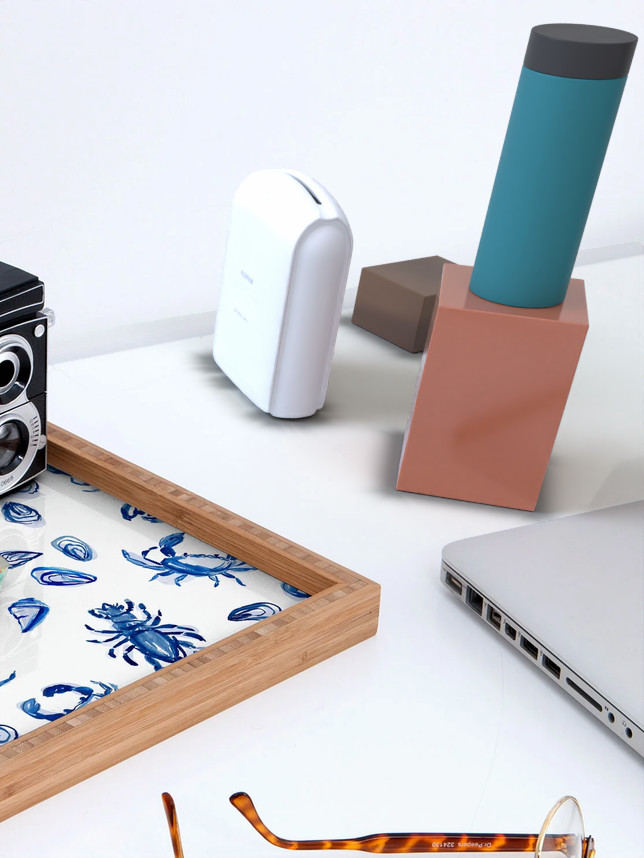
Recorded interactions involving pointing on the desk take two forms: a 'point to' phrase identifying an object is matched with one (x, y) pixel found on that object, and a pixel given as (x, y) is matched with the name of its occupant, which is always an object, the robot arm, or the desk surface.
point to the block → (399, 300)
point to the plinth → (490, 394)
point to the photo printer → (282, 291)
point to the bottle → (551, 162)
